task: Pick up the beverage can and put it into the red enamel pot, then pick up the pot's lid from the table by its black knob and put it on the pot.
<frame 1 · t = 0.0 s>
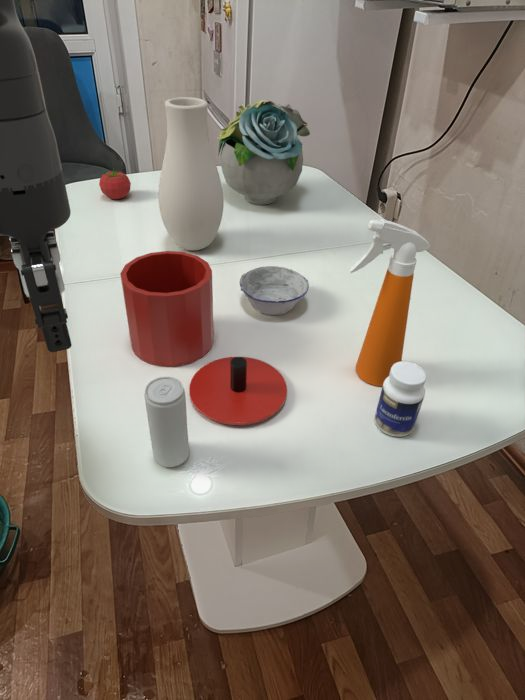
hand: (55, 324, 53), 22 cm above the table, tool pointing down, fingers open, 8 cm apart
bowl: (272, 304, 98), on the table
flower arrangement: (260, 199, 138), on the table
pill bottle: (393, 424, 74), on the table
vase: (193, 245, 116), on the table
spray bottle: (365, 373, 83), on the table
pot: (172, 340, 88), on the table
lid: (238, 389, 78), point 1 cm above the table
beverage can: (171, 456, 68), on the table
tomato: (117, 198, 135), on the table
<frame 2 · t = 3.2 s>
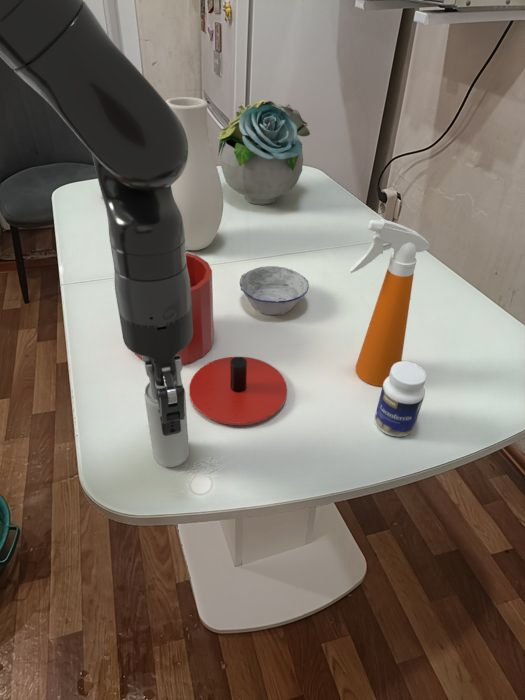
hand: (167, 416, 63), 7 cm above the table, tool pointing down, fingers closed on beverage can, 5 cm apart
beverage can: (171, 456, 68), on the table, touching gripper
everything else where it was.
when the fingers open (8 cm above the table, at t = 12.0 s): beverage can stays where it is, resting on pot.
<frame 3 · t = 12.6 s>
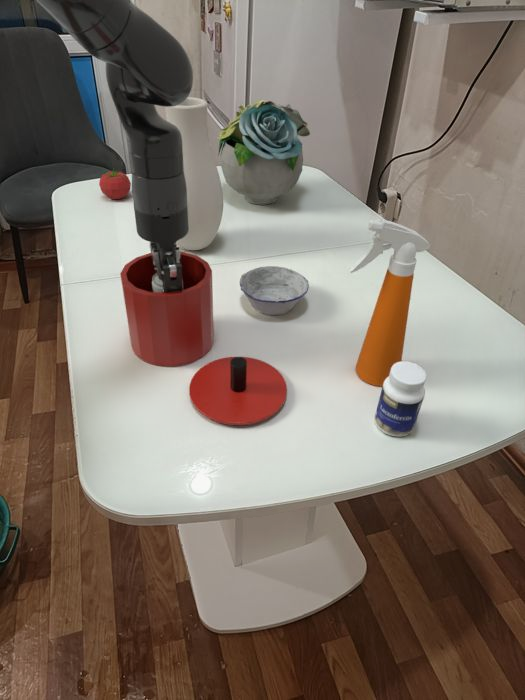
hand: (169, 302, 83), 8 cm above the table, tool pointing down, fingers open, 5 cm apart
beverage can: (172, 339, 87), resting on pot
everything else where it was.
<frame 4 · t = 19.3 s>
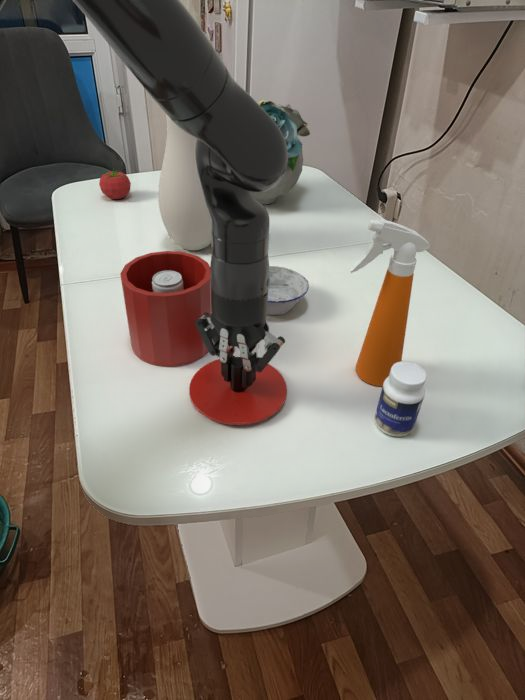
hand: (238, 381, 77), 2 cm above the table, tool pointing down, fingers closed on lid, 2 cm apart
lid: (238, 389, 78), point 1 cm above the table, touching gripper
everything else where it was.
when the fingers open (15 cm above the table, at t = 26.7 s): lid stays where it is, resting on pot.
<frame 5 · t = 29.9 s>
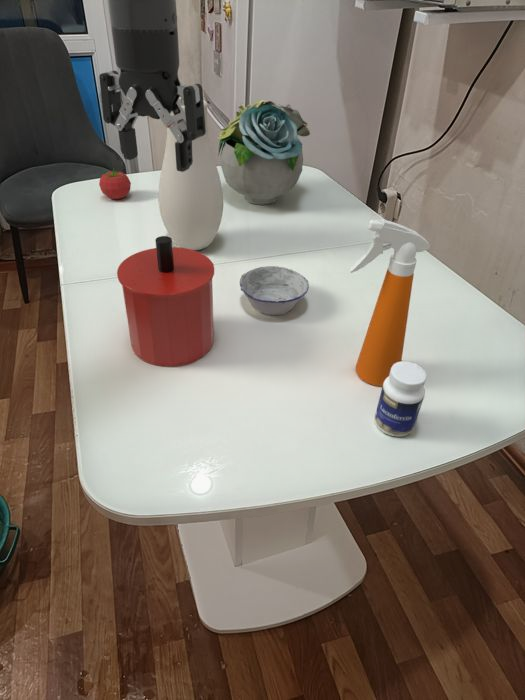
hand: (157, 164, 69), 30 cm above the table, tool pointing down, fingers open, 8 cm apart
lid: (166, 271, 79), point 13 cm above the table, touching pot
everything else where it was.
at the end: beverage can inside the target area in the pot (0.1 cm from its centre), point 0.3 cm above the pot's base; lid 0.0 cm off-centre on the pot, point 13.5 cm above the pot's base; lid tilted 0° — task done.
